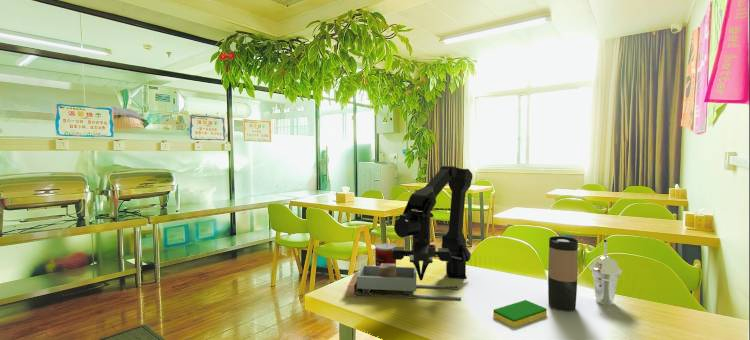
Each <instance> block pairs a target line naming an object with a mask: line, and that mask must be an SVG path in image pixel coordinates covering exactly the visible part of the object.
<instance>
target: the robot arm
mask: <svg viewBox="0 0 750 340" xmlns="http://www.w3.org/2000/svg"><path fill="white" fill-rule="evenodd" d="M472 180H473V173H472V172H471V170H470V169H469V168H459V167H457V166H453V165H442V166H440V168H439V171H437V172H436V174H435V175H434V176H433V177H432V178H431V180H430V181H428V183H427V184H426V185H425V186H424V187H422V188H420V189H417V190H415V191H414V192H413V193H412V194H410V196H409V198H408V201H407V203H406V205H405V208H404V210H403V211H402V214H399V219H397V220H396V221H395V222H394V225H393V227H394V229H393V230H394V232H395V234H396V235H397V236H398V237H399V238H401V239H403V238H407V237H411V238H412V239H411V241H412V242H411V249H409V250H407V249H405V247H404V246H396V247H394V248H393V249H392V259H393V260H396V261H397V260H398V261H399V260H400V261H402V260H403V259H404V258H405V257H409V262H410V263H413V265H414V267H416V274H417V275H418V279H419V281H423V279H424V277H425V273H426V270H427V268H428V266H429V265H430V264H433V263H434V262H433V261H434V260H433V258H438V260H439V261H440V262H445V272H446V275H447V277H448V278H449V279H450V278H452V279H453V278H454V279H455V278H456V279H467V274H466V272H467V269H466V267H467V266H466V265H467V264H466V262H470V260H471V256H472V255H471V252H470V251H469V249H468V247H467V240H466V238H465V235H464V234H463V228H464V225H463V224H464V218H465V217H464V216H465V215H464V214H465V202H466V193H467V191H469V189H470V188H471V185H472ZM447 185H448V188H449V189H450V191H451V196H450V197H451V198H450V208H449V221H448V231H447V233H446V234H445V235H442V237H441V240H442V241H441V246H440V247H441V248H440V247H437V248H436V246H437V245H435V244H431V218H434V214H433V212H432V210H433V209H434V207H435V205H436V204H437V197H438V195H440V193H441V192H442V190H443V189H444V188H445V187H446V186H447ZM436 249H437V250H436ZM420 262H422V263H420ZM420 264H421V265H420Z"/></svg>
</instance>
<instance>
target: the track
mask: <svg viewBox="0 0 750 340" xmlns="http://www.w3.org/2000/svg"><path fill="white" fill-rule="evenodd" d="M358 273H359V271H354V273H353V275H352V278H350V281H349V283H348V284H347V297H348V298H355V296H361V297H362V296H363V297H364V296H365V297H383V298H386V297H387V298H405V299H407V298H408V299H429V300H447V301H448V300H449V301H462V296H446V295H445V296H444V295H424V294H423V295H421V294H410V295H405V294H404V293H402V294H399V293H381V292H379V293H378V292H368V293H364V292H363V291H361V292H360V291H359V292H358V290H359V289H357V275H358ZM417 288H419V289H422V288H423V289H439V290H440V289H441V290H442V289H444V290H459V287H458V286H454V285H434V284H433V285H432V284H416V289H417Z"/></svg>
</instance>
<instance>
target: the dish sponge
mask: <svg viewBox="0 0 750 340" xmlns="http://www.w3.org/2000/svg"><path fill="white" fill-rule="evenodd" d="M547 310H548V309H547V308H546V307H544V306H541V305H539V304H536V303H534V302H532V301H529V300H527V299H524V300H521V301H518V302H514V303H511V304H508V305H504V306H501V307H498V308H495V309H493V314H492V315H493V316H492V317H493V318H494V319H497V320H498V321H501V322H503V323H505V324H507V325H508V326H509V327H510V326H511V327H513V328H516V327H518V326H521V325H524V324H527V323H530V322H533V321H535V320H538V319H541V318H544V317H547V315H548V314H547V313H548V311H547Z"/></svg>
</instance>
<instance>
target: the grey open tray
mask: <svg viewBox="0 0 750 340" xmlns="http://www.w3.org/2000/svg"><path fill="white" fill-rule="evenodd" d="M379 268H380V266H375V265H366V264H365V265H364V264H363V265H361V268H360V270H359V271H358V272H359V273H358V275H357V289H358V290H359V289H360V290H362V293H370V292H371V290H382V291H383V290H384V291H402V292H403V294H405V295H412V292H417V288H416V285H417V270H416V267H415V266H413V267H412V266H396V277H379Z"/></svg>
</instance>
